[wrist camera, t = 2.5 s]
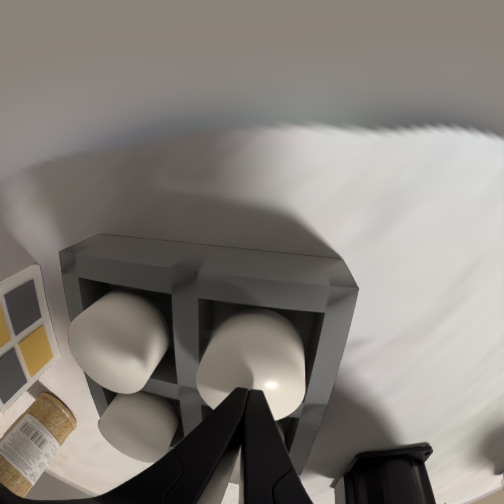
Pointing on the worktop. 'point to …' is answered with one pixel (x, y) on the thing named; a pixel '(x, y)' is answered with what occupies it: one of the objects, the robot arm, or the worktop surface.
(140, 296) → the button
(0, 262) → the worktop surface
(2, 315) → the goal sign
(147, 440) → the button
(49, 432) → the sprinkles bottle
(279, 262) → the button board
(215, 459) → the robot arm
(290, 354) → the button
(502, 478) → the plastic bottle
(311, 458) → the worktop surface
